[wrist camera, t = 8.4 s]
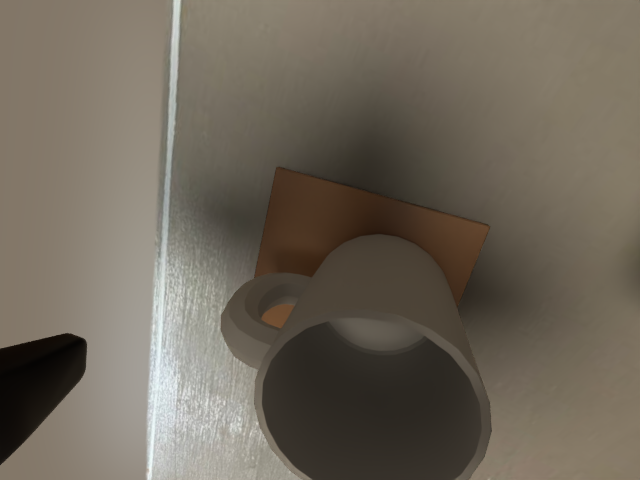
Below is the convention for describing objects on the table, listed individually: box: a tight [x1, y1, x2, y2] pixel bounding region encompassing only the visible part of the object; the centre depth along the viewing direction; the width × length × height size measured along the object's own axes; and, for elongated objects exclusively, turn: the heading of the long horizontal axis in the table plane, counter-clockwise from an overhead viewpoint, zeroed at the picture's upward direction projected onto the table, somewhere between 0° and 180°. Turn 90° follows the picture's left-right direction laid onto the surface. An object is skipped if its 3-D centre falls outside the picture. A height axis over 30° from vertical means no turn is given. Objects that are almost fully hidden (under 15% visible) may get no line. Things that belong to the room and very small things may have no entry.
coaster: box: [254, 167, 490, 328], centre depth 20 cm, size 11×11×1 cm
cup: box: [221, 234, 492, 480], centre depth 16 cm, size 7×10×9 cm
